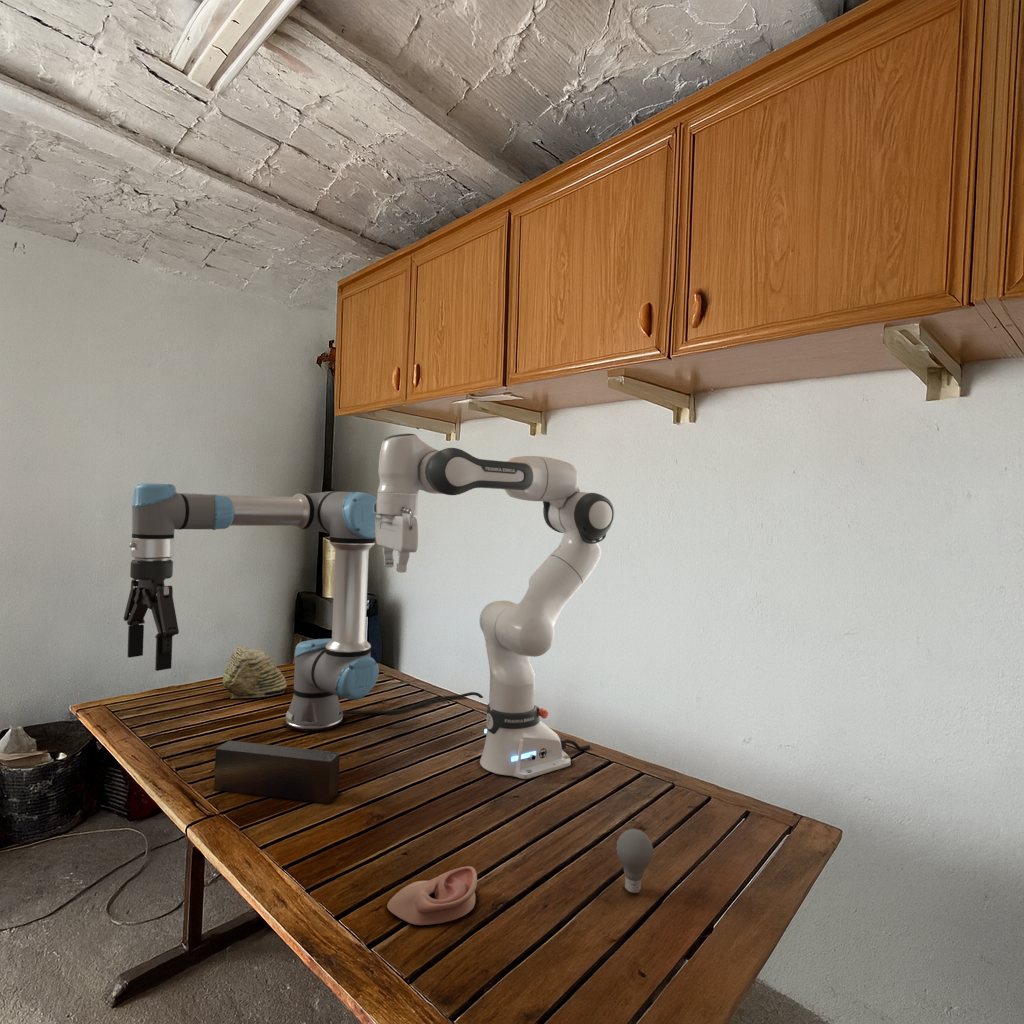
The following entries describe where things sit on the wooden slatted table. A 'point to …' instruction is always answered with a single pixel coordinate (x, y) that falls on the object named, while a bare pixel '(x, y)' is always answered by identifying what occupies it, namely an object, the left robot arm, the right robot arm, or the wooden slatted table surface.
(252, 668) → the fossil
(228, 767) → the bar
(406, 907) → the anatomical model
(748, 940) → the wooden slatted table surface
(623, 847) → the light bulb
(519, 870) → the wooden slatted table surface
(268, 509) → the left robot arm
